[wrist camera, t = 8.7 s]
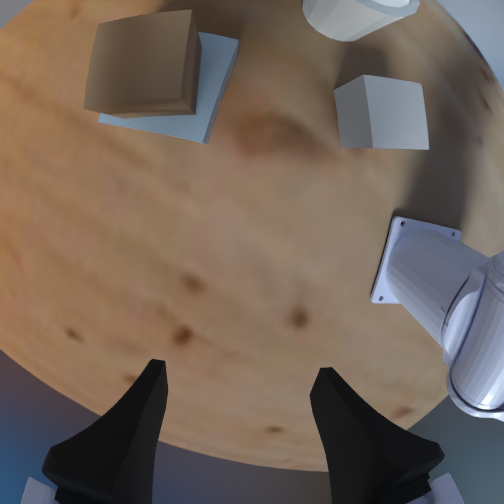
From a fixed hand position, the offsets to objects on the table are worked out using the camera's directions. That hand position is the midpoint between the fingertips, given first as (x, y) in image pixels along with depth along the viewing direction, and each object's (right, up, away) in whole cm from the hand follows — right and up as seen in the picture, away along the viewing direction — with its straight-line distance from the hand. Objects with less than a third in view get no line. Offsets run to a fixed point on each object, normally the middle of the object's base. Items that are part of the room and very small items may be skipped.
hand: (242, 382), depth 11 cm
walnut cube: (-5, +16, +1) cm, 17 cm away
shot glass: (+7, +25, +3) cm, 26 cm away
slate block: (-5, +17, +5) cm, 19 cm away
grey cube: (+9, +16, +6) cm, 19 cm away
